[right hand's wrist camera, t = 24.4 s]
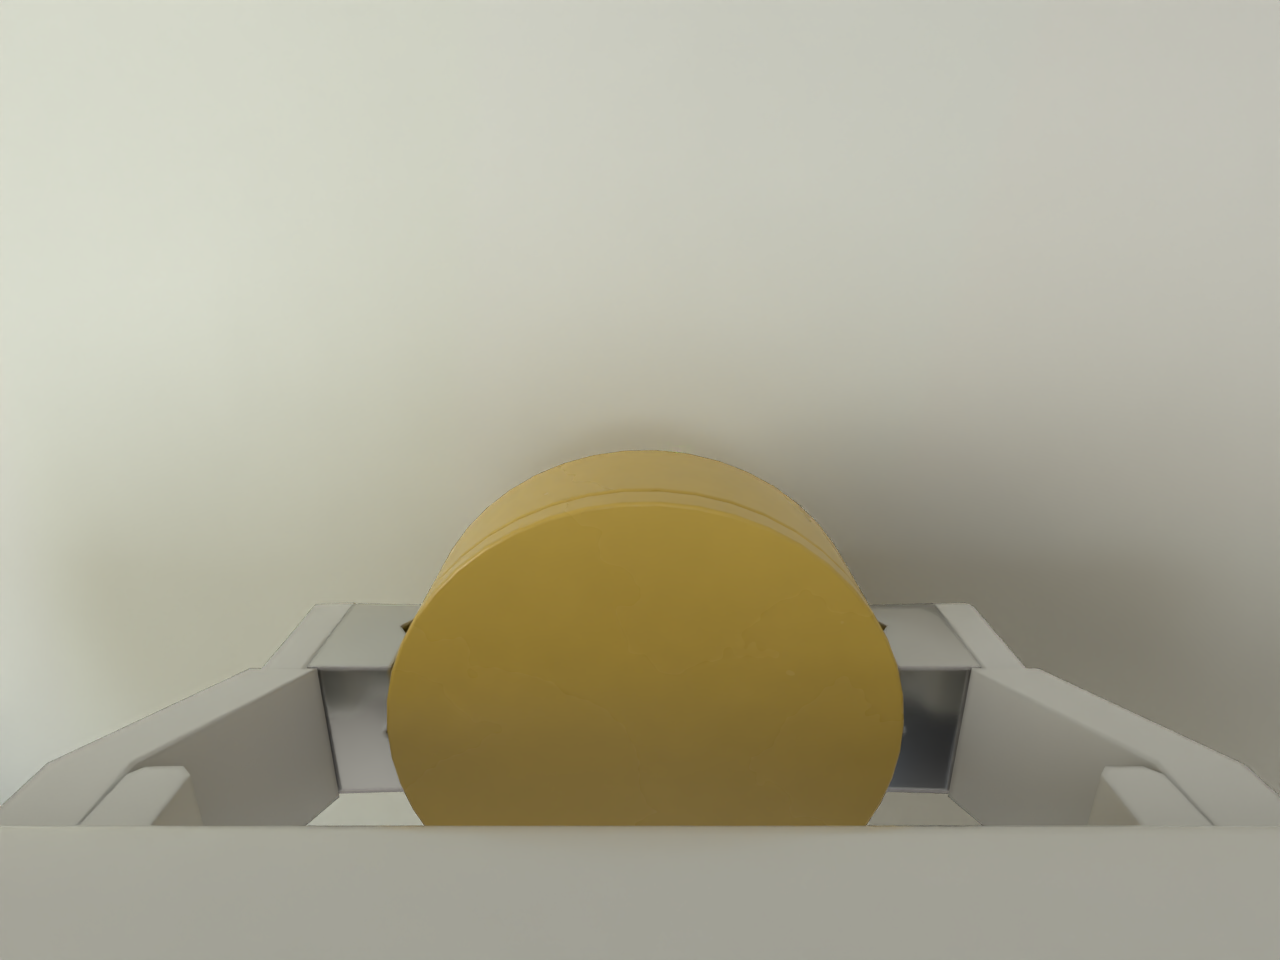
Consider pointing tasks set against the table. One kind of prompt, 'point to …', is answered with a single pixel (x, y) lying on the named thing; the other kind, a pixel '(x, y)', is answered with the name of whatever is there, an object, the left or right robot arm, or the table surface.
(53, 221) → the table surface
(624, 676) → the lid
